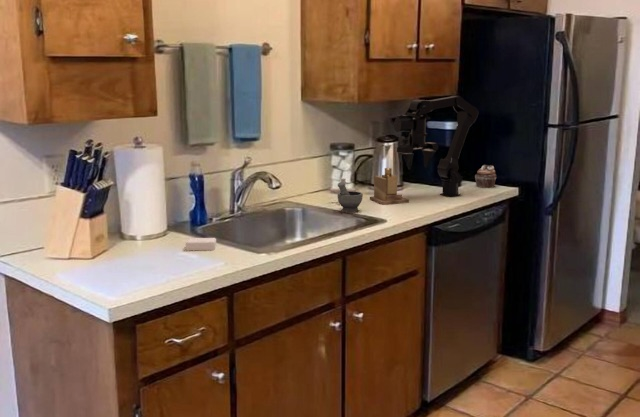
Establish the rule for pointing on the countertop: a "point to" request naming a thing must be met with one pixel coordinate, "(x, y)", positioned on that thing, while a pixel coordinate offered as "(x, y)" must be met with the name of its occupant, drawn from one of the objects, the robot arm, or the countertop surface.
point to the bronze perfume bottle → (390, 182)
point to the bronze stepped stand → (385, 193)
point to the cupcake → (485, 177)
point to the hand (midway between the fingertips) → (417, 168)
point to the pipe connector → (339, 189)
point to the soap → (201, 244)
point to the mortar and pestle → (349, 199)
